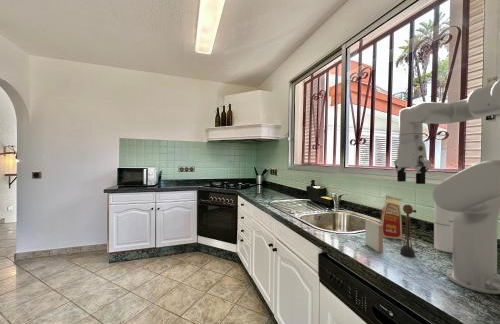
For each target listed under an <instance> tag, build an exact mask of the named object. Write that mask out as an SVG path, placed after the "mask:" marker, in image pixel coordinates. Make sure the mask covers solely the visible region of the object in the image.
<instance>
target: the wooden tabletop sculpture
mask: <svg viewBox="0 0 500 324" xmlns="http://www.w3.org/2000/svg"><path fill="white" fill-rule="evenodd" d="M402 211H403V212H404V213H405V214H406V215H405V228H404V229H405V233H404V241H403V246H402V247H401V248H400V253H399V254H400V255H402V256H403V257H407V258H415V257H416V253H415V252H416V251H415V250H414V248H413V243H412V237H411V216H410V215H411V214H412V213H417V210H416V209H413V206H412V204H409V203H407V204H404V205H403V207H402ZM405 244H406V245H405Z"/></svg>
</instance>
